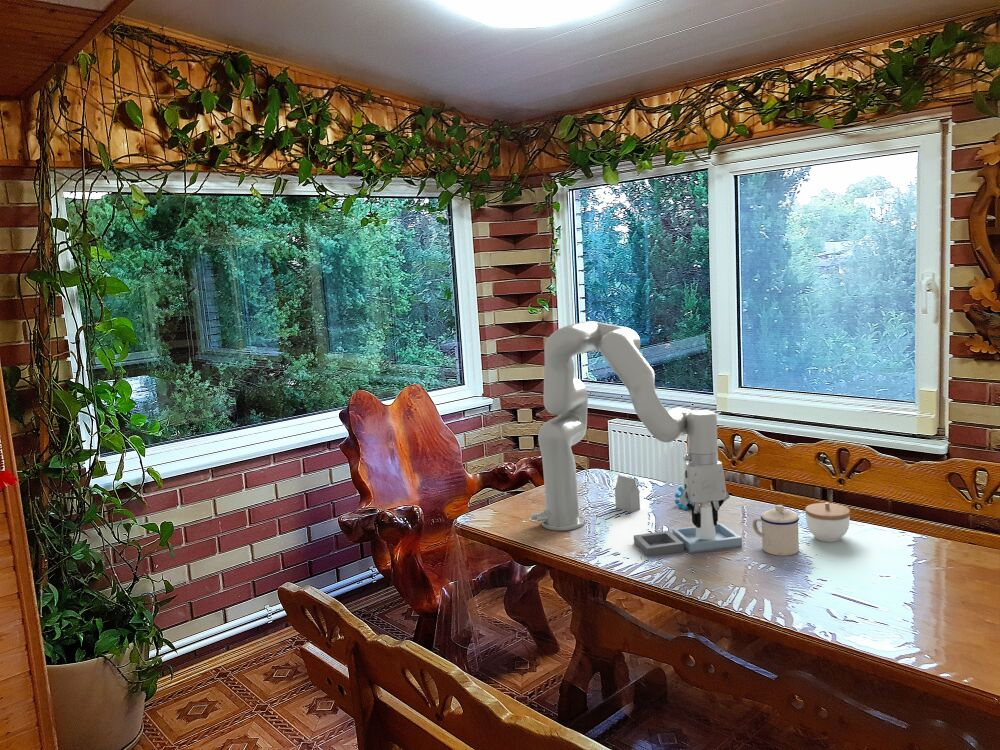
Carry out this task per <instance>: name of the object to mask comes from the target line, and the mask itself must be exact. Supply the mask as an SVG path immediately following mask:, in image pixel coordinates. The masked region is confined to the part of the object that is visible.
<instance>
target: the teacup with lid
mask: <svg viewBox="0 0 1000 750" xmlns="http://www.w3.org/2000/svg"><path fill="white" fill-rule="evenodd" d="M799 520H800V517H799V514H797V513H796V512H794V511H791V510H788V509H787V508H784V505H783V504H776V505H775V506H774V508H771V509H769V510H765V511H763V512H762V513H761V514H760V517H756V518H754V519H753V520H752V529H753V531H754V533H755V534H756V535H757V536H759V537H761V541H762V544H761V545H762V549H763V551H764V552H766V553H767V554H770V555H773V556H779V557H780V556H781V557H785V556H792V555H795V554H797V553H798V552H799V544H800V543H799ZM757 522H761V531H760V530H759V529H758V525H757Z"/></svg>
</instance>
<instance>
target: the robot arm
mask: <svg viewBox="0 0 1000 750" xmlns="http://www.w3.org/2000/svg"><path fill="white" fill-rule="evenodd" d="M641 345H642V344H641V339H640V336H639V335H638V333H637V332H636V331H635V330H634V329H633V328H632V329H631V328H630V327H626V326H620V325H615V324H610V323H609V324H608V323H604V322H599V321H594V320H593V321H592V320H591V321H590V320H589V321H588V320H587V321H582V322H578V323H577V322H576V323H573V324H569V325H565V326H563V327H560V328H559V329H556V330H555V331H553V332H552V333H551V334H550V335H549V337H548V338H547V340H546V341H545V346H544V373H543V398H542V399H543V405H544V409H545V410H546V411H547V413H549V414H551V415H555V416H556V415H557V416H556V417H553V418H551V419H549V420H547V421H545V423H544V424H542V425H541V426H540V428H539V430H538V435H537V436H538V437H537V439H538V446H539V449H540V450H539V451H540V454H541V461H542V470H543V471H542V472H543V482H544V483H543V485H544V497H545V498H544V499H545V507H543V511H540V512H531V513H530V520H531V521H535V520H536V522H541V526H542V527H543V528H544V529H547V530H550V531H560V532H561V531H570V530H575V529H579V528H580V527H582V526H583V525H584V524H585V523H586V522H585V517H584V516H582V515H580V513H579V512H580V511H579V497H578V495H579V493H578V479H577V477H578V476H577V466H576V465H577V464H576V460H575V456H574V453H573V451H572V447H573V446H575V445H576V444H578V443H580V442H581V440H583V438H584V437H585V435H586V433H587V426H588V404H589V403H588V402H589V398H588V397H589V394H588V390H587V387H586V385H585V384H584V382H583V381H582V380H580V379H579V378H577V377H575V363H574V361H573V360H574V359H573V357H574V356H576V355H580V354H584V353H585V354H586V353H588V352H590V351H594V352H599V353H601V355H602V357H603V358H604V360H605V361H606V363H608V365H609V366H610V368H611V369H612V371H613V372H614V373H615V374H616V376H617V377H618V378H619V379H620V381H621V382H622V383H623V385H624V387H626V389H627V391H628V395H629V398H630V400H631V404H632V407H633V408H634V412H635V413H636V415H637V417H638V419H639V420H640V421H641V423H642V424H643V425H644V427H645V428H646V429H647V431H648V432H649V434H651V436H653V438H654V439H656V440H658V441H660V442H662V443H672V442H673V441H676V440H677V439H678V438H680V437H683V436H684V435H686V436H687V453H686V454H685V455H683V457H682V458H683V461H685V462H686V461H687V462H686V463H685V466H684V467H685V468H684V476H683V490H684V492H683V494H682V496H681V497H680V498H678V500H679V504H682V505H683V506H686V507H688V509H689V511H691V523H692V524H693V526H696V527H697V528H700V527H701V517H700V513H699V511H698V510H699V503H704V502H710V505H712V512H713V522H714V526H716V525H717V523H718V521H719V512H718V511H720V508H721V507H722V505H723V504H724V502H726V501H727V500H729V499H730V496H731V495H730V494H729V492H728V491H727V490H726V479H725V473H724V469H723V464H722V461H720V460H719V453H718V452H719V451H718V450H719V449H718V445H719V444H718V418H717V414H716V413H715V412H714V411H712V410H707V409H697V410H694V409H688V408H684V407H671V408H669V409H666V407H665V406H664V405H663V403H662V402H661V400H660V398H659V397H658V396H659V395H658V394H657V392H656V387H655V379H656V376H655V375H656V374H655V371H654V369H653V368H652V366H650V364H649V363H648V361H647V360H646V358H645V357H644V356H643V354H641V352H640V351H639V350H640V348H641ZM687 499H689V501H690V502H691V503H689V502H687V501H686V500H687Z"/></svg>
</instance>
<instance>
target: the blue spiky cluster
mask: <svg viewBox="0 0 1000 750" xmlns="http://www.w3.org/2000/svg"><path fill="white" fill-rule="evenodd" d="M677 490H678V491H679V492H680V494H679V493H678V492H675V494H674V497H675V500H674V503H675V504H676V505H677V507H678V508H679V509H681V510H682V508H683V510H686V511H687V510H688V509H689V508H688V507H686V506H684V505H682V504H681V503H679V499H680V497H681V496H682V494H683V492H684V487H682V486H679V487H678V488H677ZM686 501H687V502H689V503H691V502H690V501H689V499H687V500H686Z"/></svg>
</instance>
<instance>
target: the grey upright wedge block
mask: <svg viewBox="0 0 1000 750" xmlns="http://www.w3.org/2000/svg"><path fill="white" fill-rule="evenodd" d="M614 499H615V508H616V509H619V510H623V511H625V512H629V513H635V512H636V511H640V510H641V500H640V490H639V487H638V485H637V481H636V479H635V478H632V477H629V476H625V475H620V474H619V475H618V476H617V480H616V484H615V487H614Z"/></svg>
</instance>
